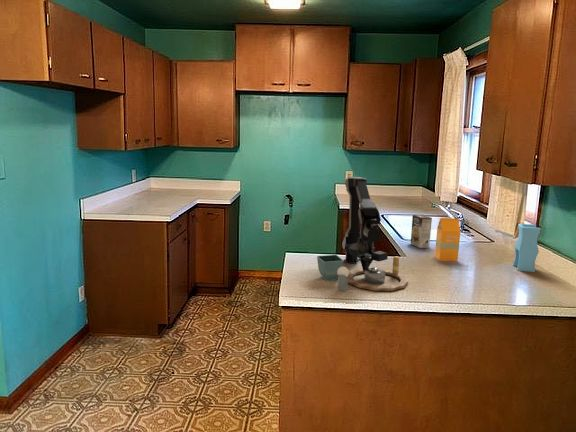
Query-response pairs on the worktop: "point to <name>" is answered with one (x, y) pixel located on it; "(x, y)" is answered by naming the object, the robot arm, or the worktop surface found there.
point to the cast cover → (374, 275)
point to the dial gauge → (342, 278)
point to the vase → (526, 247)
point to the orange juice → (447, 239)
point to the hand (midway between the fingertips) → (364, 271)
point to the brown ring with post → (393, 273)
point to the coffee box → (421, 231)
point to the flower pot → (329, 266)
